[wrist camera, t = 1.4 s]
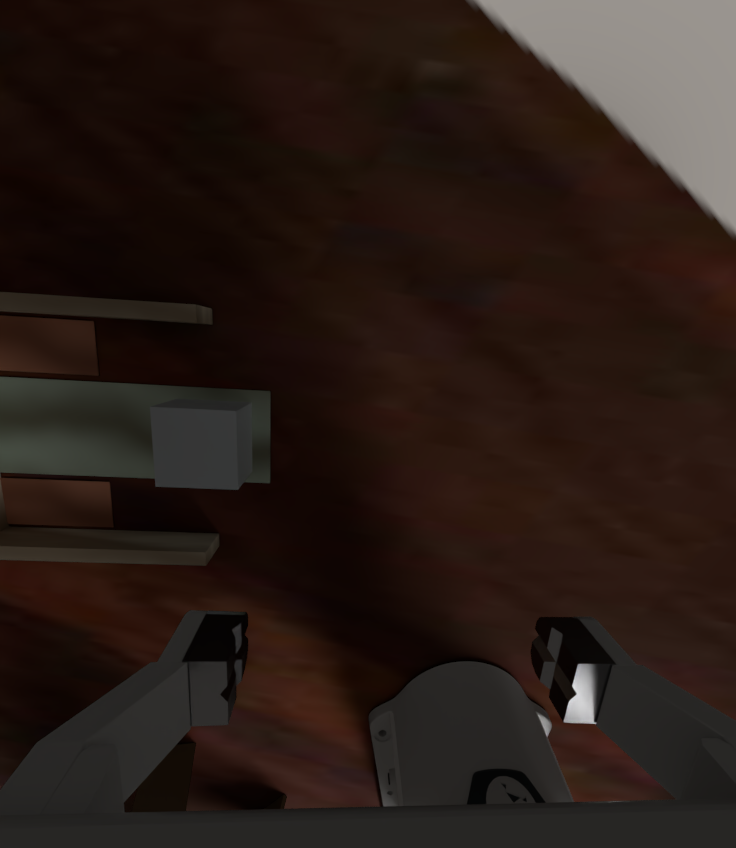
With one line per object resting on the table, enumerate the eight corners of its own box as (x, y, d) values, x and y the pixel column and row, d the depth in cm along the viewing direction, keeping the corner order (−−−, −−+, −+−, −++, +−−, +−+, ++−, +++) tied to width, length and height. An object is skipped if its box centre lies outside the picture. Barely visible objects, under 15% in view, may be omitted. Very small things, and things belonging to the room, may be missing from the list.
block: (252, 471, 31) (237, 489, 27) (180, 468, 31) (155, 486, 27) (251, 402, 30) (236, 411, 26) (176, 398, 29) (149, 406, 26)
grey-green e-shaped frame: (270, 547, 33) (261, 567, 30) (-4, 538, 31) (-40, 558, 29) (270, 312, 28) (261, 308, 25) (-47, 291, 27) (-95, 285, 24)
